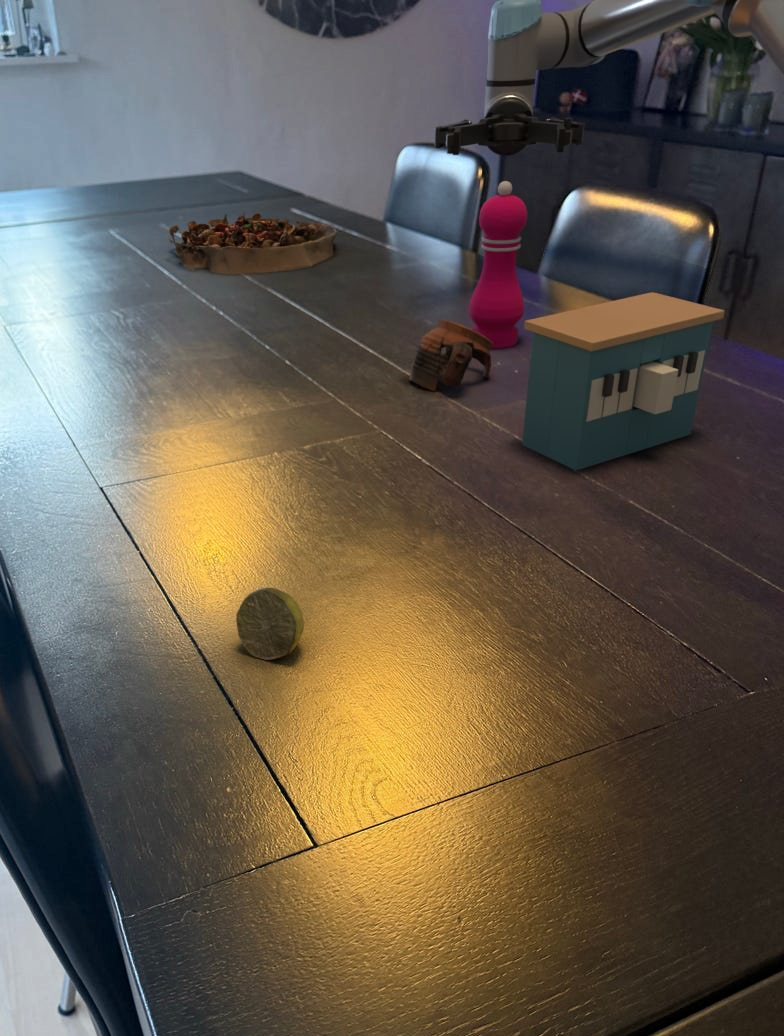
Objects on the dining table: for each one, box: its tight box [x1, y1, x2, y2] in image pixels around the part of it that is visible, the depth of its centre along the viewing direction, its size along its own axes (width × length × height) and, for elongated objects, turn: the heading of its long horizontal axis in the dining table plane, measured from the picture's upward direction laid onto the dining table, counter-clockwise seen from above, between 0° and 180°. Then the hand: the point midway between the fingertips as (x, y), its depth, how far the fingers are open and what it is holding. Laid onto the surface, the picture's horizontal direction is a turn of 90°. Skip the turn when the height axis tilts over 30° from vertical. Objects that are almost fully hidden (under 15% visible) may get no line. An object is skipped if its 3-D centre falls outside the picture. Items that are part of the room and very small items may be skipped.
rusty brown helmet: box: [408, 319, 493, 392], centre depth 112 cm, size 12×10×8 cm
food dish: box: [165, 212, 338, 275], centre depth 179 cm, size 35×33×8 cm
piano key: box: [633, 361, 678, 414], centre depth 90 cm, size 4×2×4 cm, turn 30°
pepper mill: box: [468, 180, 528, 350], centre depth 121 cm, size 7×7×20 cm
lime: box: [235, 587, 305, 661], centre depth 66 cm, size 4×5×5 cm
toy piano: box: [521, 291, 725, 471], centre depth 94 cm, size 9×17×13 cm, turn 120°
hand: (508, 142), depth 122 cm, fingers open, 13 cm apart
